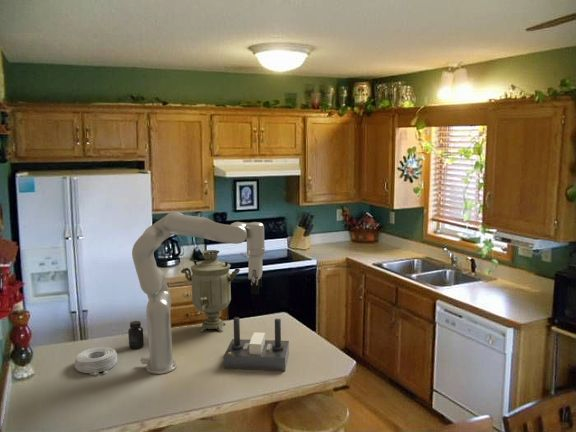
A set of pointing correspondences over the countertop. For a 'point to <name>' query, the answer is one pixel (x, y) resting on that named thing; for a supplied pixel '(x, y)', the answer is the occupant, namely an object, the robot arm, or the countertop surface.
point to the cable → (96, 360)
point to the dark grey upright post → (237, 335)
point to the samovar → (211, 287)
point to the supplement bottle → (135, 335)
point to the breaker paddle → (257, 344)
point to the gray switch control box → (257, 357)
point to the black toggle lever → (277, 336)
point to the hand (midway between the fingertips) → (256, 290)
